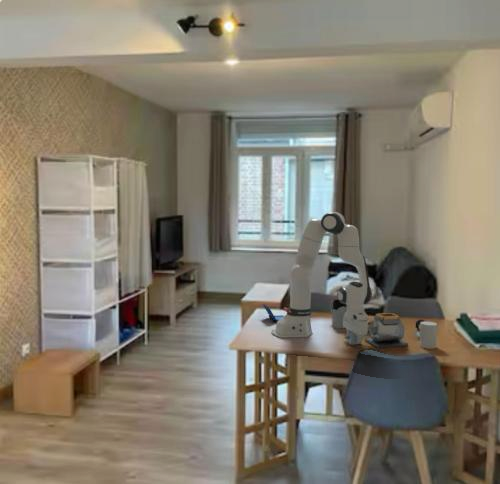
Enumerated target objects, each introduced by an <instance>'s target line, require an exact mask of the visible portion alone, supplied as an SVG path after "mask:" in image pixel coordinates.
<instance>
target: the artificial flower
mask: <svg viewBox="0 0 500 484" xmlns="http://www.w3.org/2000/svg"><path fill="white" fill-rule="evenodd" d="M420 322H427V321H426V320H425V319H418V320H417V321H415V326H414V327H415V329H413V334H414V336H415V337H416V338H420Z"/></svg>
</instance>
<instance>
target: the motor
mask: <svg viewBox="0 0 500 484" xmlns="http://www.w3.org/2000/svg"><path fill="white" fill-rule="evenodd" d="M368 331H369V335H370V337H365V338H364V342H367V343H368V344H370V345H372V346H374V347H376V348H377V349H389V348H401V347H408V346H409V343H408V342H407V341H404V340H403V339H404V337H405V325H404V323H403V321H402V319H401V318H400V315H397V314H395V313H392V312H388V313H387V312H386V313H375V315H374V317H373V320H371V322H370V323H369V326H368Z"/></svg>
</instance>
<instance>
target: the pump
mask: <svg viewBox="0 0 500 484" xmlns="http://www.w3.org/2000/svg"><path fill="white" fill-rule="evenodd" d="M357 337H358V336H357V334H356V333H354V332H351V333H346V334H345V335H344V339H345V340H346V343H348V344H349V345H351V346H352V345H362V341H361V342H359V343H358V342H356V339H357ZM362 338H363V337H362ZM362 338H361V340H362Z"/></svg>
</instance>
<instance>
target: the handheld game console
mask: <svg viewBox="0 0 500 484" xmlns="http://www.w3.org/2000/svg"><path fill="white" fill-rule="evenodd" d="M262 306H263V307H264V309H265V311H266V312H267V314H268V318H269V317H270V318H271V319H272V320H271V319H270V318H269V319H270V320H271V321H273V322H274V324H277V322H278V320H280V319H281V318H282V317H284V316H285V315H283V314H281V315H274V313H273V311H272V310H271V308H269V306H267V305H266V304H265V303H263V304H262Z"/></svg>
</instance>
